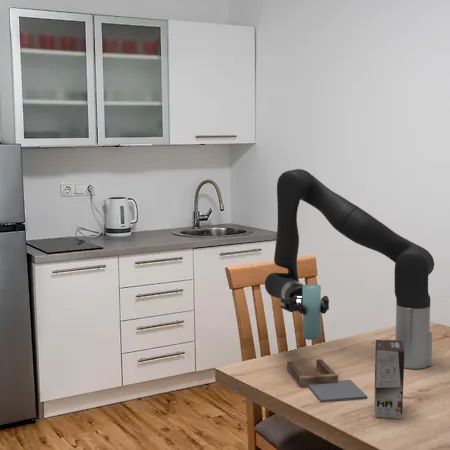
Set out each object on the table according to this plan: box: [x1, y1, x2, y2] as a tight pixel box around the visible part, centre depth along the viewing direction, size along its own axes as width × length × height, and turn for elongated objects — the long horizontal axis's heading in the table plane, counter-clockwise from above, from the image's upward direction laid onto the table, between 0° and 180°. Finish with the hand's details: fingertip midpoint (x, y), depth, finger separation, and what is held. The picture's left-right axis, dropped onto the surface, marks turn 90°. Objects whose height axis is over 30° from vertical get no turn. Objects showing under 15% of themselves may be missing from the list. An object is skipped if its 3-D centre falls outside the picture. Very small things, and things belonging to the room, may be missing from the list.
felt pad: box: [307, 379, 368, 403], centre depth 175 cm, size 12×12×1 cm
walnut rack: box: [286, 358, 339, 388], centre depth 185 cm, size 10×14×2 cm
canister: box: [302, 283, 322, 341], centre depth 184 cm, size 5×5×14 cm
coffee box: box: [374, 339, 405, 420], centre depth 162 cm, size 9×6×16 cm
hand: (314, 310), depth 181 cm, fingers closed on canister, 4 cm apart
